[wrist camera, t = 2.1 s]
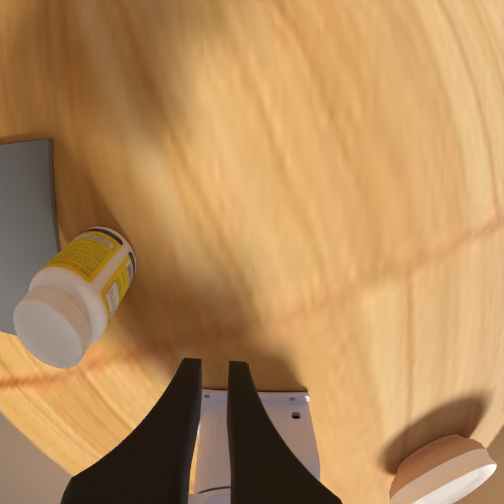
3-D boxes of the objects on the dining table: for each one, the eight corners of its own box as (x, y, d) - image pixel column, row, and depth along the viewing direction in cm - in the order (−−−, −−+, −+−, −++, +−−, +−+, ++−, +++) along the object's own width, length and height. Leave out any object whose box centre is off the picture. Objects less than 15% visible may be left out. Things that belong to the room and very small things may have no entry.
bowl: (479, 405, 29) (504, 448, 22) (474, 447, 35) (491, 481, 28) (369, 463, 32) (383, 513, 25) (388, 491, 38) (399, 528, 31)
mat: (52, 138, 16) (47, 139, 16) (81, 345, 23) (78, 349, 22) (-33, 150, 16) (-37, 151, 15) (3, 328, 22) (0, 331, 22)
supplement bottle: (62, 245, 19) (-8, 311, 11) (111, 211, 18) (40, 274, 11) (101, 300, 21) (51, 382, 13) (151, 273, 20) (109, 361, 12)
